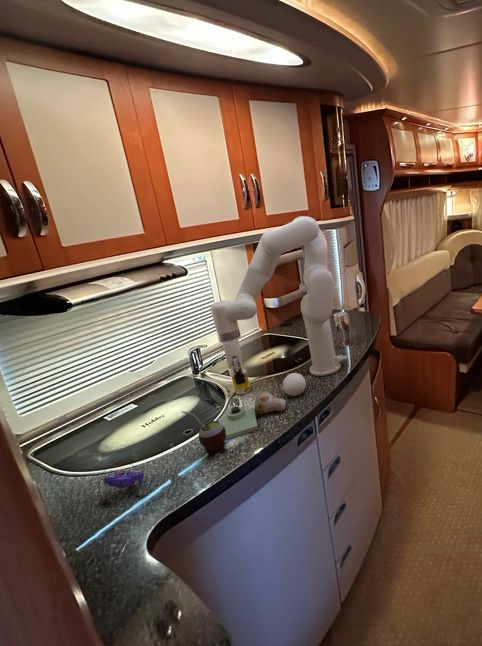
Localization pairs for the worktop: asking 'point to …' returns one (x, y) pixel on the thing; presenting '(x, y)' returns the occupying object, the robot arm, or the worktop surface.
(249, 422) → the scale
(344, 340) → the beer glass
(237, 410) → the tare button
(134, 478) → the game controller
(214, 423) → the mate gourd
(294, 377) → the ball
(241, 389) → the supplement bottle
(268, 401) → the beige lumpy tapered piece
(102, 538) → the worktop surface
